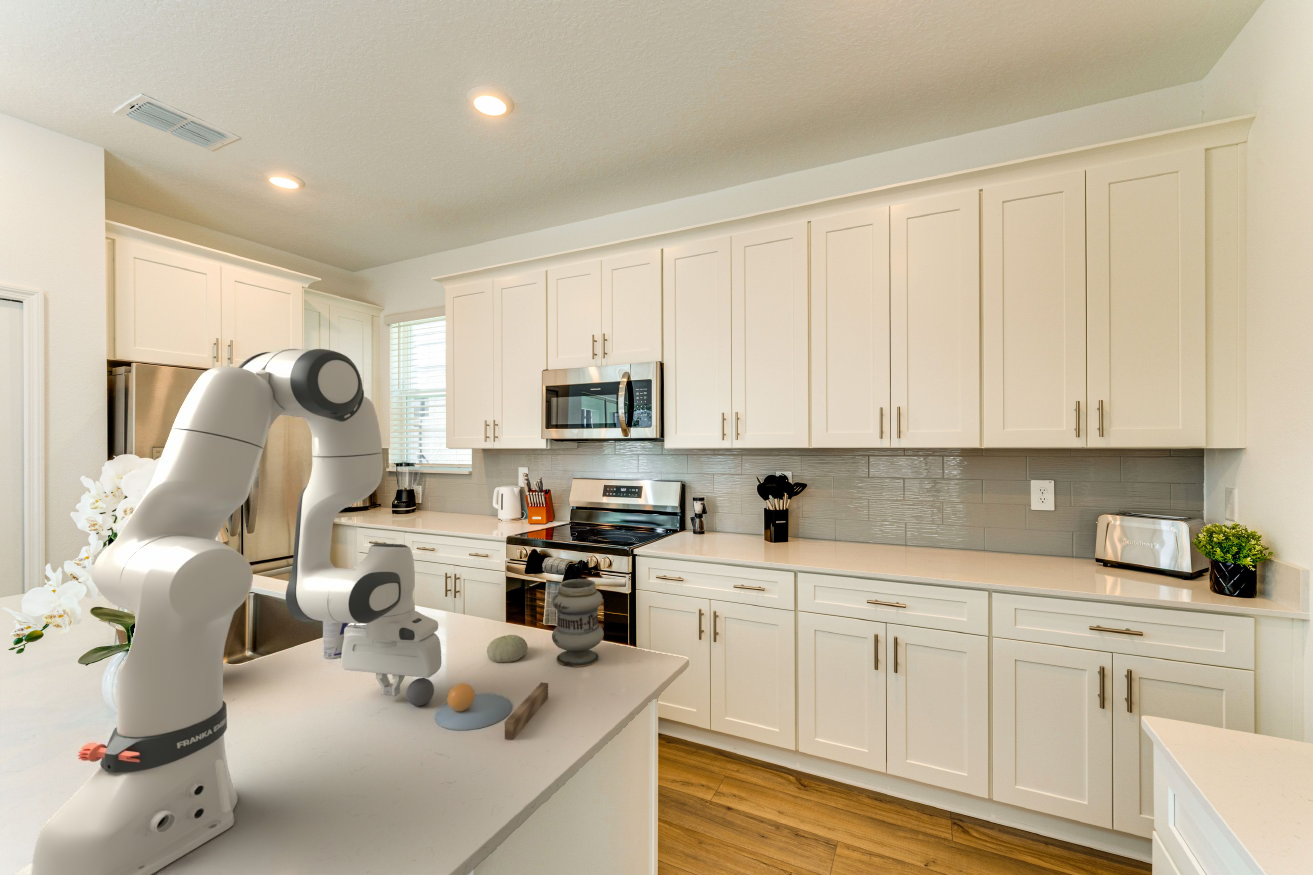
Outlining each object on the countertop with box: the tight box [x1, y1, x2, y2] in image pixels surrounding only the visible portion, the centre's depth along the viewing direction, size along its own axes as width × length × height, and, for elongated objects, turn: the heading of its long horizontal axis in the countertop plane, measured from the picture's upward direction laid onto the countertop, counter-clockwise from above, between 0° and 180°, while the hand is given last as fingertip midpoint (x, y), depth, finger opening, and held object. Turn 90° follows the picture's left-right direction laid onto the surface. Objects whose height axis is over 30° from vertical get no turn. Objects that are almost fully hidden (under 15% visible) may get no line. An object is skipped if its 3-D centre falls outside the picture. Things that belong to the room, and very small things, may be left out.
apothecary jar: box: [551, 578, 605, 668], centre depth 133 cm, size 12×12×18 cm
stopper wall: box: [504, 681, 549, 741], centre depth 105 cm, size 16×2×3 cm, turn 169°
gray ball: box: [405, 677, 435, 707], centre depth 110 cm, size 5×5×5 cm
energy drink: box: [322, 621, 350, 659], centre depth 136 cm, size 5×5×12 cm
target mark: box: [434, 693, 513, 731], centre depth 108 cm, size 14×14×1 cm
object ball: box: [446, 682, 475, 712], centre depth 108 cm, size 5×5×5 cm
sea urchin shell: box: [486, 634, 528, 663], centre depth 134 cm, size 9×8×8 cm
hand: (390, 694), depth 111 cm, fingers closed
